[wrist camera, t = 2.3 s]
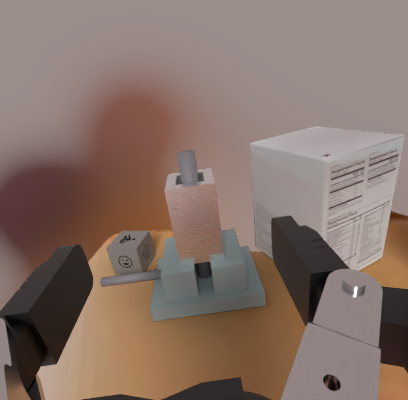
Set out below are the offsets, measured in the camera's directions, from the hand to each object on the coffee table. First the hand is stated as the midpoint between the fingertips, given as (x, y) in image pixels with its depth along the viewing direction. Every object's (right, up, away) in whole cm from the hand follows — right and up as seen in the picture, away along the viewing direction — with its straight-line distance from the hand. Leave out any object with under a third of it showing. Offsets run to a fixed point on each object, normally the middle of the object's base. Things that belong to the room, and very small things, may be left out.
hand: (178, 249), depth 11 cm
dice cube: (-10, -9, +32) cm, 35 cm away
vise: (-2, -10, +26) cm, 28 cm away
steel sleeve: (+1, -4, +23) cm, 24 cm away
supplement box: (+18, -6, +29) cm, 35 cm away
